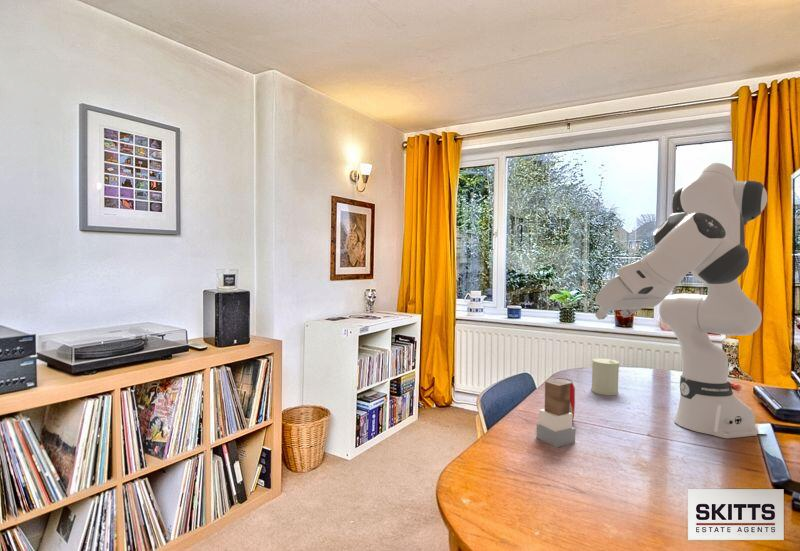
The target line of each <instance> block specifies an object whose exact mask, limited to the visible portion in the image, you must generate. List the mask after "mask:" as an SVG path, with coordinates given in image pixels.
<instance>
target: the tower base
mask: <svg viewBox="0 0 800 551" xmlns="http://www.w3.org/2000/svg"><path fill="white" fill-rule="evenodd" d="M536 439H538V440H540V441H543V442H545V443H547V444H549V445H551V446H553V447H555V448H558V447H562V446H566V445H569V444H573V443H576V428H575V427H573V426H572V428H571V429H566V430H562V431H557V432H555V431H553V430H550V429H548V428H546V427H544V426H542V425H540V424H539V423H536Z"/></svg>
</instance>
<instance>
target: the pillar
mask: <svg viewBox="0 0 800 551" xmlns="http://www.w3.org/2000/svg"><path fill="white" fill-rule="evenodd" d="M554 379H555V378H554ZM569 405H570V383H567V382H564V381H560V380H557V379H555V380H553V379H551V380H547V381H544V409H545V411H547V412H549V413H552V414H555V415H557V416H560V415H563V414H567V413H569Z"/></svg>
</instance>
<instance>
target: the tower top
mask: <svg viewBox="0 0 800 551" xmlns="http://www.w3.org/2000/svg"><path fill="white" fill-rule="evenodd" d="M538 411H539V412H538V424H540V425H542V426H544V427H546V428H548V429H550V430H553V431H555V432H557V431H562V430H566V429H571V428H572V427H573V420H572V413H570V412H569V413H567V414H563V415H560V416H557V415H555V414H552V413H549V412H547V411H545V408H542V409H540V408H539V410H538Z"/></svg>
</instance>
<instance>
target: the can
mask: <svg viewBox="0 0 800 551" xmlns="http://www.w3.org/2000/svg"><path fill="white" fill-rule="evenodd" d="M591 362H592V366H591V367H592V368H591V369H592V371H591V372H592V374H591V387H590V388H591V389H590V390H591V391H592V392H593V393H596V394H597V395H603V396H617V395H619V373H620V371H619V368H620V361H618V360H616V359H611V358H603V357H599V358H597V357H596V358H592V361H591Z"/></svg>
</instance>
